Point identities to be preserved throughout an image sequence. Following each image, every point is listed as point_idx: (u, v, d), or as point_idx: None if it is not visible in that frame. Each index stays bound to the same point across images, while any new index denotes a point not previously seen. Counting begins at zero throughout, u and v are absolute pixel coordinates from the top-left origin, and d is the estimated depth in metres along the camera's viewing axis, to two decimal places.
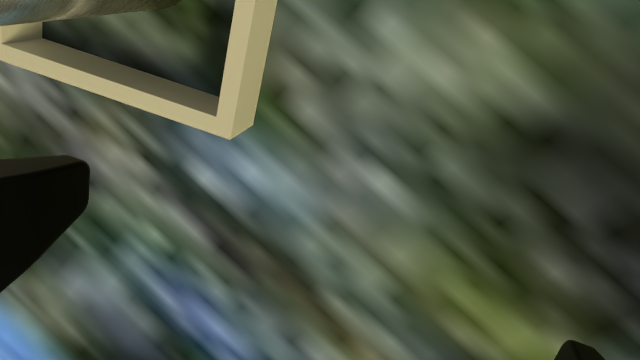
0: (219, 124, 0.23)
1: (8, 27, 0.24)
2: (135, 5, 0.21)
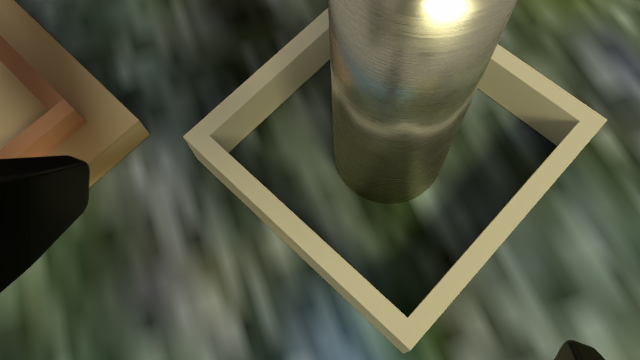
0: (406, 327, 0.19)
1: (223, 128, 0.23)
2: (398, 176, 0.21)
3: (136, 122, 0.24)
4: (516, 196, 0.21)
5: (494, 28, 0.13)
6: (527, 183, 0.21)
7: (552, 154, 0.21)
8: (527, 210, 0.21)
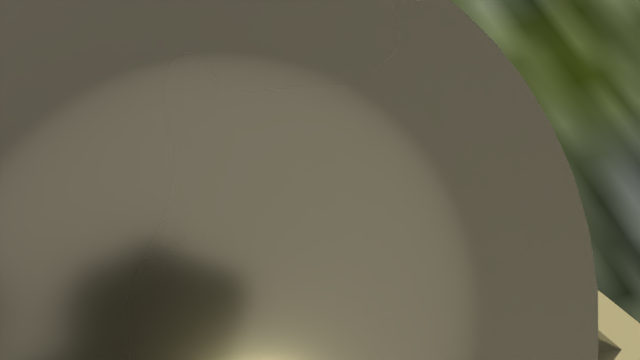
0: None
1: None
2: None
3: None
4: None
5: None
6: None
7: None
8: None
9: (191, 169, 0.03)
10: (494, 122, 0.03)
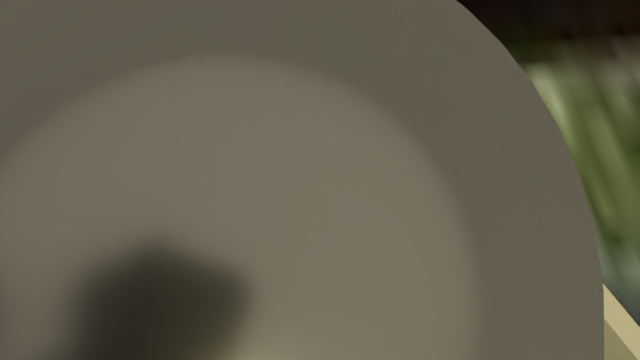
0: None
1: None
2: None
3: None
4: None
5: None
6: None
7: None
8: None
9: (198, 168, 0.03)
10: (499, 121, 0.03)
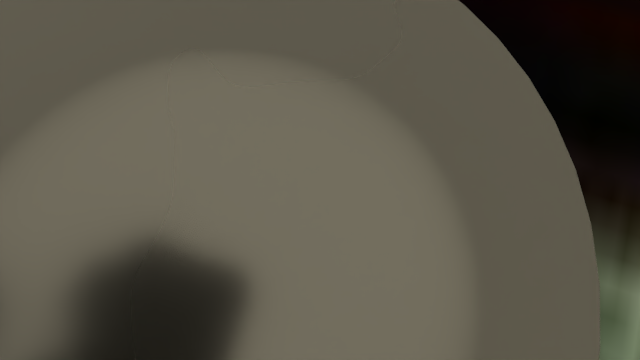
0: None
1: None
2: None
3: None
4: None
5: None
6: None
7: None
8: None
9: (195, 163, 0.03)
10: (496, 116, 0.03)
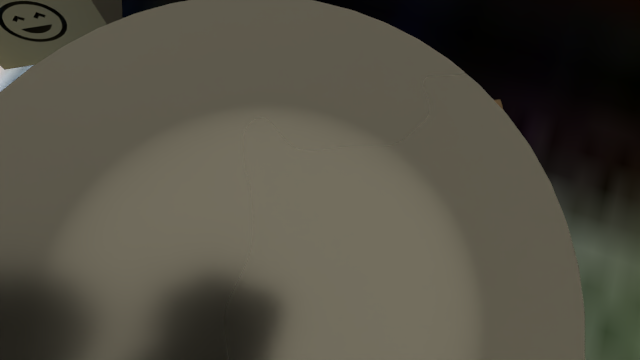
0: None
1: None
2: None
3: None
4: None
5: None
6: None
7: None
8: None
9: (267, 213, 0.04)
10: (505, 178, 0.04)
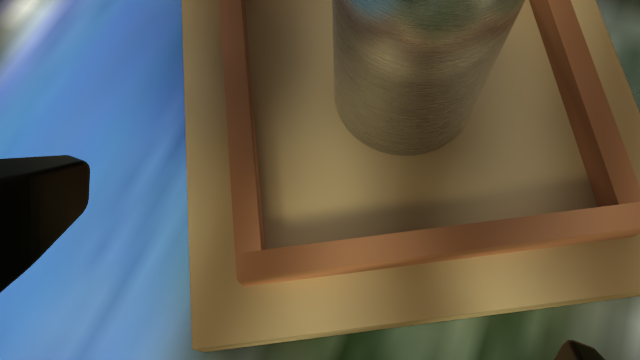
0: None
1: None
2: (421, 108, 0.15)
3: None
4: None
5: None
6: None
7: None
8: None
9: None
10: None
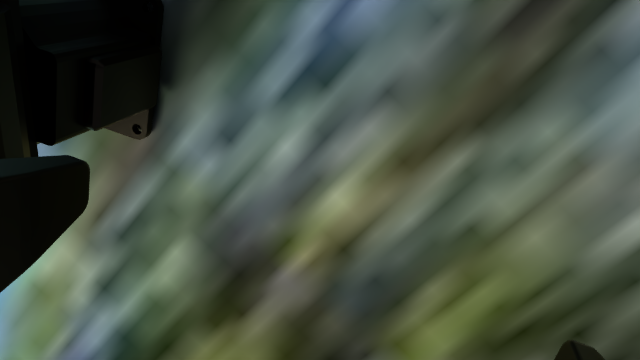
0: None
1: None
2: None
3: None
4: None
5: None
6: None
7: None
8: None
9: None
10: None
